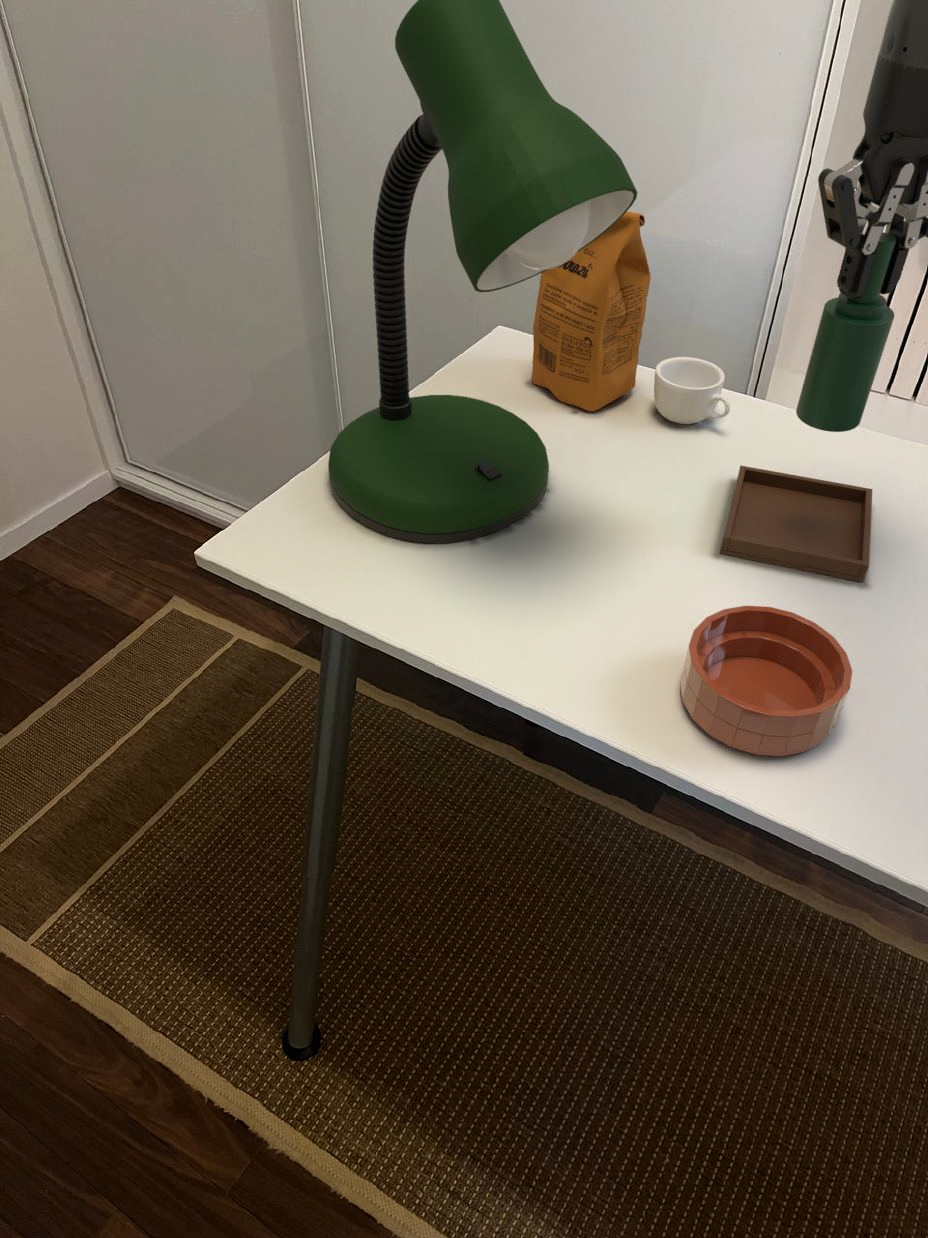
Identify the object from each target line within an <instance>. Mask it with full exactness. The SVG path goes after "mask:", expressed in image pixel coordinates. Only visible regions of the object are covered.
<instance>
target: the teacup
mask: <svg viewBox="0 0 928 1238" xmlns="http://www.w3.org/2000/svg"><path fill="white" fill-rule="evenodd" d="M725 377H726V376H725V372H724V371H723V370H722V368H720V367H719V366H717V365H716V364H714V363H712V362H711V361H708V360H705V359H701V358H697V357H690V356H675V357H670V358H666V359H663V360H662V361H660V362H659V363H657V365H656V366H655V371H654V383H653V385H654V387H653V397H654V398H653V399H654V400H653V401H654V404H655V408H656V409H657V412H658V413H660V415H661V416H663V417H664V418H665V419H666V420H667V421H669V422H672V423H675V424H680V425H693V424H696V423H700V422H702V421H704V420H706V419H707V418H711V419H722V418H725V417H726V416H728V415H729V413H730V410H731V403H730V401H729V399H728V398H727V397H726V396H725V395H723V394H722V391H723V386H724V383H725ZM719 401H721V402H722V403H723V404H724V412H723V413H717V412H715V409H716V408H717V406H718V404H719Z"/></svg>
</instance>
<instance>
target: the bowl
mask: <svg viewBox="0 0 928 1238" xmlns="http://www.w3.org/2000/svg"><path fill="white" fill-rule="evenodd" d="M686 652H687V653H686V657H685V661H684V665H683V670H682V675H681V679H680V682H679V683H680V685H679V687H680V693H681V701H682V704H683V705H684V707H685V709H686V710H687V712H688V714H689V715H690V717H691V719H692V720H693V721H694V722H695V723H696V724H697V725H698V726H699V727H700V728H701V729H702V730H704V732H705V733H707V734H708V735H709V736H710V737H712V738H714V739H715V740H717V741H719V742H721V743H723V744H725V745H726V746H728V747H731V748H733V749H736V750H739V751H743V752H745V753H750V754H753V755H758V756H772V757H773V756H774V757H785V756H790V755H794V754H800V753H804V752H805V753H806V752H808V751H809V750H812V749H813V748H815V747H817V746H818V745H820V744H822V743H824V741H826V739H827V738H828V736H829V735H830V734H831V732H832V731H833V729H834V728H835V726H836V725H837V724H836V723H837V721H838V718H839V716H840V714H841V711H842V709H843V706H844V703H845V701H846V698H847V697H848V694H849V691H850V688H851V684H852V676H853V669H852V666H851V662H850V659H849V657H848V654H847V652H846V651H845V649H844V648H843V647H842V645H841V644H840V643H839V641H838V640H837V639H836V637H835V636H833V635H832V634H831V633H830V632H828V631H826V630H825V629H824V628H823V627H821V626H820V625H819V624H817V623H816V622H814V621H812V620H810V619H809V618H805V617H803V616H802V615H800V614H797V613H795V612H792V611H788V610H784V609H780V608H776V607H771V606H763V605H762V606H760V605H741V606H735V607H729V608H723V609H721V610H719V611H717V612H715V613H713V614H711V615H708V616H706V617H705V618H704V619H703V620H702V621H701V622H700V623H699V624H698V625H697V626H696V627H695V628H694V630H693V632H692V634H691V638H690V640H689V643H688V647H687V651H686Z"/></svg>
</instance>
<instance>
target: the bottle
mask: <svg viewBox="0 0 928 1238" xmlns="http://www.w3.org/2000/svg"><path fill="white" fill-rule="evenodd" d="M896 241H897V239H896V237H895V236H893V235H891V234H888V233H885V232H883V231H882V234H881V236H880V239H879V241H878V244H877V246H876V249H875V250H874V252H873V254H875V256H874V259H873V263H872V266H871V269H870V273H869V276H868V280H867V283H866V286H865V290H864V293H863V296H862V297H861V298H858V299H850V298H848V297H847V296H845V295H843V294H842V293H841V292H839V294H838V297H833V298H831V299H829V300H827V301H826V302H825V303H824V306H823V310H822V313H821V317H820V320H819V324H818V328H817V330H816V335H815V339H814V342H813V347H812V350H811V354H810V357H809V361H808V365H807V368H806V372H805V376H804V380H803V383H802V386H801V387H802V388H801V391H800V394H799V399H798V403H797V405H796V409H795V413H796V416H797V418H798V419H799V420H800V421H801V422H802V423H804V424H805V425H807V426H809V427H811V428H813V429H816V430H818V431H819V430H820V431H824V432H831V433H843V432H850V431H852V430H854V429H857V427H859V425H860V424H861V421H862V418H863V415H864V413H865V412H864V411H865V409H866V406H867V402H868V399H869V397H870V393H871V391H872V387H873V385H874V381H875V377H876V375H877V372H878V368H879V365H880V364H881V363H880V362H881V359H882V356H883V354H884V351H885V350H884V349H885V347H886V344H887V341H888V339H889V335H890V331H891V328H892V325H893V322H894V320H895V312H894V310H893V309H892V308H891V307H890V306H888V305H887V303H888V302H887V299H886V297H884V296H883V294H880V293H881V289H882V286H883V283H884V280H885V276H886V273H887V270H888V267H889V263H890V260H891V257H892V254H893V250H894V247H895V244H896Z"/></svg>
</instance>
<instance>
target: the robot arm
mask: <svg viewBox="0 0 928 1238" xmlns="http://www.w3.org/2000/svg"><path fill="white" fill-rule="evenodd" d="M862 117H863V121H864V122H863V123H864V134H863V136H862V138H861V140H860V142H859V144H858V146H856V148H855V150H854V153H853V155H852V159H851V160H850V161H849V162H847V163H845V164H844V165H842V166H841V167H840V168H838V169H836V170H833V169H831V168H830V167H829V168H828V167H827V168H825V169H823V170H821V172H820V173H819V174H818V177H817V182H818V188H819V195H820V201H821V205H822V211H823V217H824V223H825V229H826V236H827V238H828V239H830V240H831V241H833V242H835V243H836V244H838V245H840V246H842V247H843V248H844V254H843V258H842V261H841V265H840V269H839V274H838V276H837V280H836V284H837V288H838V290H839V293H842V294H843V295H845V296H847V297H848V298H850V299H858V298H861V297H862V296H863V293H864V290H865V286H866V283H867V280H868V276H869V273H870V269H871V266H872V263H873V259H874V256H875V254H873V252H874V250H875V249H876V246H877V244H878V241H879V239H880V236H881V234H882V232H883V231H884V228H885V232H884V233H888V234H891V235H893V236H895V237H896V239H897V241H896V244H895V247H894V250H893V254H892V257H891V260H890V263H889V267H888V270H887V273H886V276H885V280H884V283H883V286H882V289H881V293H880V295H889V294H892V293H893V292H894V290H895V286H897V284H898V283H899V281H900V280H901V278H902V274H903V271H904V267H905V264H906V261H907V258H908V256H909V252H910V250H911V249H912V248H914V247H915V246H916V244H917V243H918V241H919V240H920V239H922V238H924V237H926V238H927V239H928V0H893V1H892V4H891V7H890V9H889V13H888V16H887V20H886V23H885V28H884V32H883V35H882V38H881V42H880V46H879V50H878V53H877V58H876V61H875V66H874V69H873V73H872V78H871V82H870V85H869V89H868V93H867V95H866V101H865V104H864V107H863V113H862ZM873 204H874V205H876V206H874V205H873ZM877 206H878V207H877ZM866 224H867V227H866ZM885 226H886V227H885ZM865 228H866V230H865ZM864 230H865V231H864Z"/></svg>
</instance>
